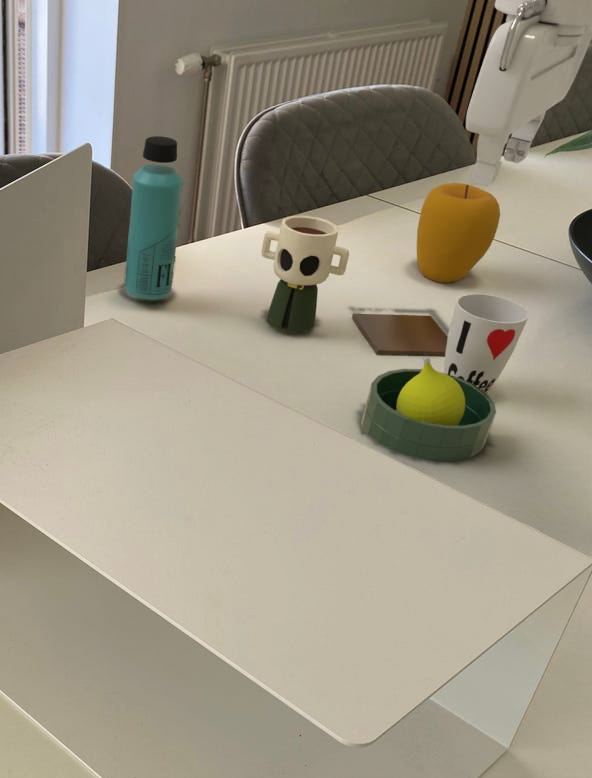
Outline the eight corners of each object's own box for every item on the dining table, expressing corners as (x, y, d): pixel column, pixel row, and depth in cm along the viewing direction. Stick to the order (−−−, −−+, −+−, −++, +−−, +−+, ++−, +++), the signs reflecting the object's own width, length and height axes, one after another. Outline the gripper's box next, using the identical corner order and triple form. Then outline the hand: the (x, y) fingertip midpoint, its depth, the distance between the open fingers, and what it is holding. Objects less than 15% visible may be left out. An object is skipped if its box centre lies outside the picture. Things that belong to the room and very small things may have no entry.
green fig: (375, 425, 110) (399, 340, 104) (424, 414, 113) (450, 330, 107) (417, 456, 106) (445, 370, 99) (467, 444, 109) (497, 359, 102)
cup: (427, 393, 118) (452, 312, 111) (436, 366, 124) (460, 288, 117) (496, 410, 116) (526, 328, 110) (502, 382, 122) (531, 303, 115)
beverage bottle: (154, 315, 129) (172, 150, 116) (112, 301, 131) (124, 138, 118) (179, 300, 133) (199, 139, 120) (138, 287, 136) (152, 127, 122)
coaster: (429, 319, 135) (430, 315, 134) (459, 356, 127) (460, 352, 126) (351, 317, 133) (352, 313, 133) (376, 354, 125) (377, 350, 125)
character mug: (241, 326, 128) (258, 223, 120) (258, 307, 133) (276, 207, 125) (322, 347, 125) (346, 243, 117) (336, 327, 130) (360, 226, 122)
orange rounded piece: (494, 286, 146) (525, 195, 137) (437, 295, 142) (465, 201, 133) (445, 259, 153) (471, 170, 144) (389, 266, 149) (413, 175, 140)
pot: (454, 409, 116) (468, 369, 112) (499, 470, 106) (516, 429, 102) (346, 408, 114) (356, 367, 111) (381, 469, 104) (394, 427, 101)
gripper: (562, 11, 72) (498, 207, 82) (622, -15, 86) (561, 156, 95) (478, -4, 75) (426, 188, 84) (549, -27, 88) (497, 141, 97)
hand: (498, 171), depth 90 cm, fingers open, 8 cm apart
